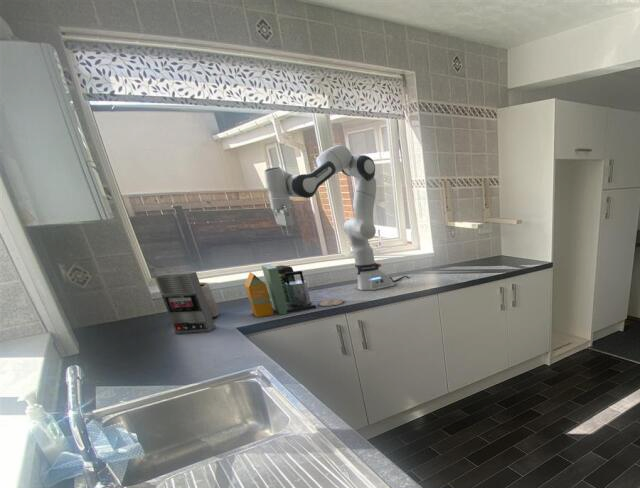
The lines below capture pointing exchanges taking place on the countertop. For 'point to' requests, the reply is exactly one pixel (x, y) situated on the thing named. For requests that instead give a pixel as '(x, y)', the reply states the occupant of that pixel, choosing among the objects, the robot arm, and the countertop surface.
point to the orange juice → (258, 296)
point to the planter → (210, 300)
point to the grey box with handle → (297, 290)
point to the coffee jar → (281, 272)
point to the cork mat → (331, 303)
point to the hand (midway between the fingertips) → (287, 235)
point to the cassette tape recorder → (185, 302)
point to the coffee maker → (279, 292)
